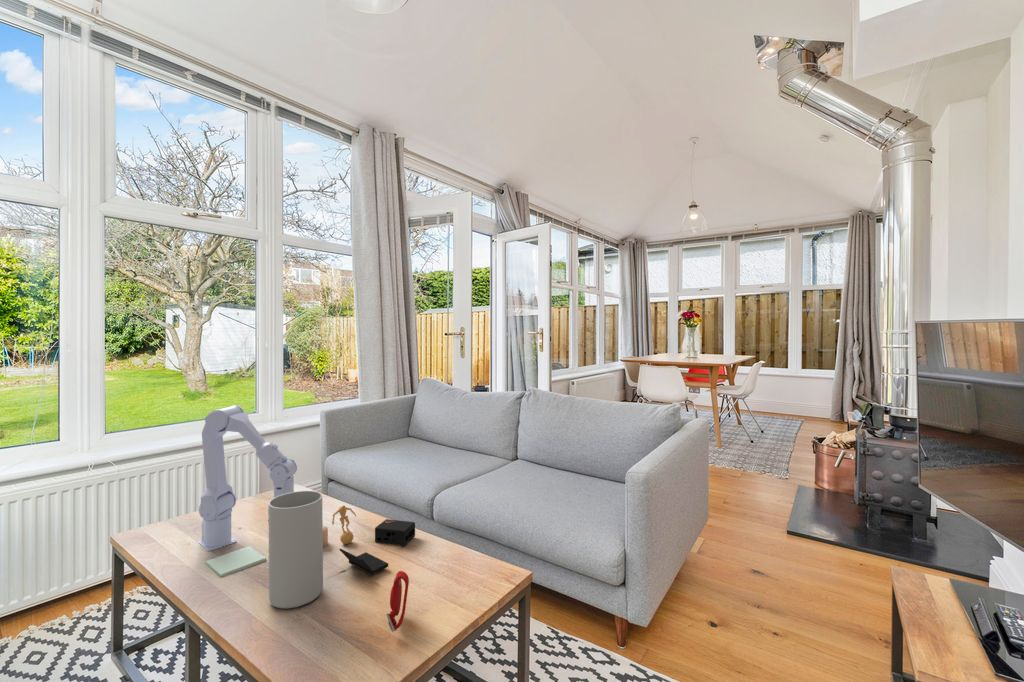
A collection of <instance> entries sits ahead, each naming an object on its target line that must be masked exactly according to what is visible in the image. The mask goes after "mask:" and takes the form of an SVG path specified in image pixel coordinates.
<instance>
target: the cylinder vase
mask: <svg viewBox="0 0 1024 682" xmlns="http://www.w3.org/2000/svg"><path fill="white" fill-rule="evenodd" d="M268 511H269V515H268V519H269V522H268V600H269V603H270V604H271V606H273V607H275V608H277V609H285V610H287V609H293V608H298V607H301V606H304V605H306V604H308V603H311V602H313V601H315V599H317V598H318V597H319V595H321V593H322V591H323V589H324V566H323V565H324V559H323V558H324V557H323V556H324V555H323V552H324V547H323V527H324V526H323V520H324V519H323V493H321V492H319V491H316V490H298V491H294V492H291V493H286V494H283V495H280V496H277V497H275V498H274V497H273V498H272V499H269V501H268V509H267V512H268Z"/></svg>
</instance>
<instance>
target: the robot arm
mask: <svg viewBox="0 0 1024 682" xmlns="http://www.w3.org/2000/svg"><path fill="white" fill-rule="evenodd" d="M204 421H205V422H204V425H203V429H202V431H201V438H202V439H201V440H202V453H203V462H204V475H205V486H206V488H205V490H204V492H203V493H202V495H201V496H200V503H199V507H198V514H199V516H200V517H201V518H202V521H201V540H198V544H199V545H201V547H203V549H205V550H206V551H208V552H211V551H214V550H217V549H220V548H224V547H227V546H229V545H233V544H235V542H236V543H237V539H235V538H234V537H232V512H233V509H234V507H235V506H236V503H237V497H236V495H235V493H234V489H233V486H231V485H230V484H228V481H227V471H226V459H225V448H224V439H223V438H224V436H225V435H226V434H227V433H228V432H231V433H232V432H233V433H239V434H240V435H241V436H242V437H243V438H244V439H245V440H246V441H247V442H248V443H249V444H250V445H251V446H252V447H253V449H255V450H256V451H255V456H256V457H257V458H258V460H260V462H261V463H262V464H263V465H264V466H265V467H266V468H267V469H268V470H269V471H270V472H269V474H268V475H269V477H270V479H271V480H272V482H273V483H272V484H273V498H275V497H277V496H280V495H283V494H286V493H291V492H295V491H294V490H295V483H294V480H295V479H294V475H296V473H297V470H298V465H297V463H296V462H295V460H294V459H292V458H288V457H287V456H286V455H284V454H283V453H282V451H280V449H278V447H279V446H278V445H277V444H274V443H273V442H267V441H266V440H265V439H264V437H263V436H262V434H261V433H260V432H259V430H258V429H257V428H256V427H255V426H254V425H253V423H252V422H251V420H250V418H249V415H248V413H247V412H245V411H244V409H243V408H242V407H241V406H239V405H230V406H228V407H224V408H220V409H219V408H218V409H214V410H212V411H211V412H209V413H208V414H207V415H206V416H204ZM267 515H268V516H269V511H268V510H267ZM267 522H268V523H269V518H268V520H267ZM226 545H227V546H226ZM223 546H224V547H223Z"/></svg>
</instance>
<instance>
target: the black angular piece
mask: <svg viewBox="0 0 1024 682" xmlns="http://www.w3.org/2000/svg"><path fill="white" fill-rule="evenodd" d="M338 551H340V552H341V553H342V555H344V557H346V559H347V560H348V564H350V565H352V566H353V567H356V568H358V569H360V570H362V571H363V572H365V573H367V574H368V575H370V576H373V575H375V574H376V573H379V572H380V571H382V570H384V569H386V568H388V567H389V563H388V562H386V561H384V560H382V559H380V558H378V557H376V556H374V555H373V554H371V553H368V552H363V553H360V554H359V555H355V554H352V553H350V552H348V551H346V550H345V549H342V548H339V550H338Z"/></svg>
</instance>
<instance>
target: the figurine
mask: <svg viewBox="0 0 1024 682" xmlns="http://www.w3.org/2000/svg"><path fill="white" fill-rule="evenodd" d="M347 511H350V512H351V513H352V514H353V515H354V517H357V515H356V513H355V512H354V510H353V509H352V508H350V507H346V505H342V506H339V507H338V509H337V510H336V511H335V512H334V513H333V514H332V522H331V524H332V526H333V525H335V516H336V515H337V514H339V515H340V518H339V521H340V524H341V529H342V533H341V535H340V542H341V543H342V544H343V545H349V544H350V543H352V542H353V541H354V534H353V532H352V531H351V530H350V529H349V525H350V523H351V522H350V519H349V516H348V515H346V514H347ZM345 523H346V524H345ZM344 527H345V528H346V530H345V528H344Z"/></svg>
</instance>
